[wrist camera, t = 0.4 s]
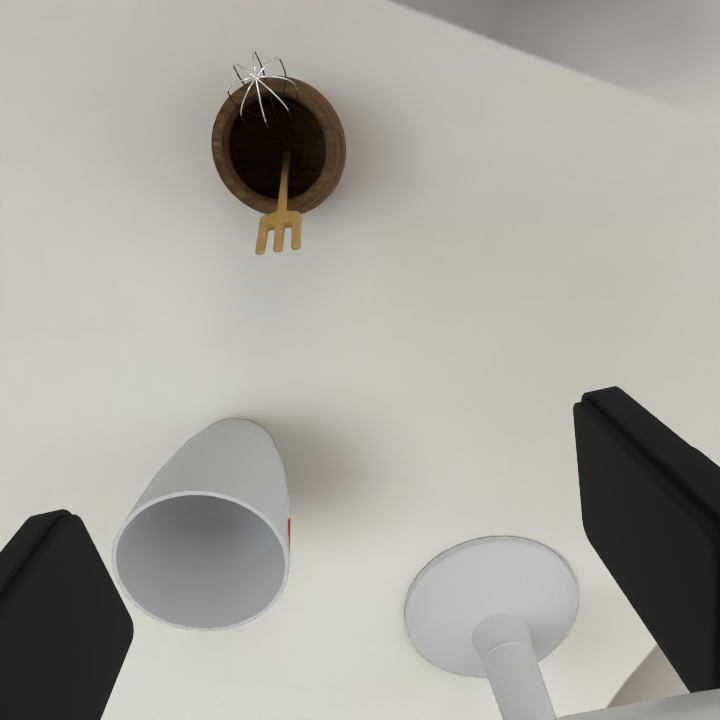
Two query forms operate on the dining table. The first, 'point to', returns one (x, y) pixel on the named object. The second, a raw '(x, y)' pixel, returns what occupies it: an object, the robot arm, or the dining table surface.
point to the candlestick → (495, 617)
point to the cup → (209, 532)
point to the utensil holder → (278, 151)
